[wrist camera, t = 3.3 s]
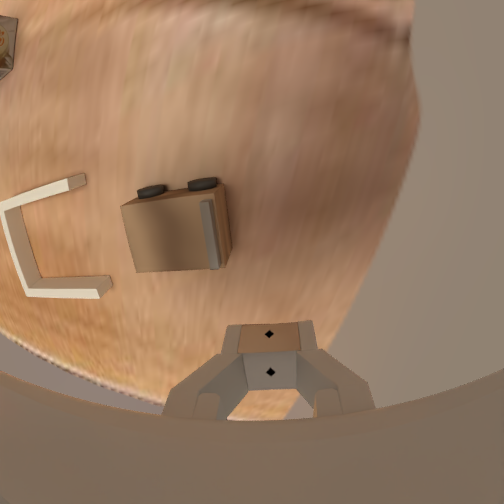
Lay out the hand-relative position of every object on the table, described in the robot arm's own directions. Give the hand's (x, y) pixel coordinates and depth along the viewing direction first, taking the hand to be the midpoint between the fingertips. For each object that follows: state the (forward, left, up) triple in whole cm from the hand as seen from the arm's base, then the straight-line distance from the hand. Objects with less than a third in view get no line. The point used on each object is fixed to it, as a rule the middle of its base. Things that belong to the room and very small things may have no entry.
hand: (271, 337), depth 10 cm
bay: (+25, 0, -16) cm, 30 cm away
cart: (+8, 0, -16) cm, 18 cm away
